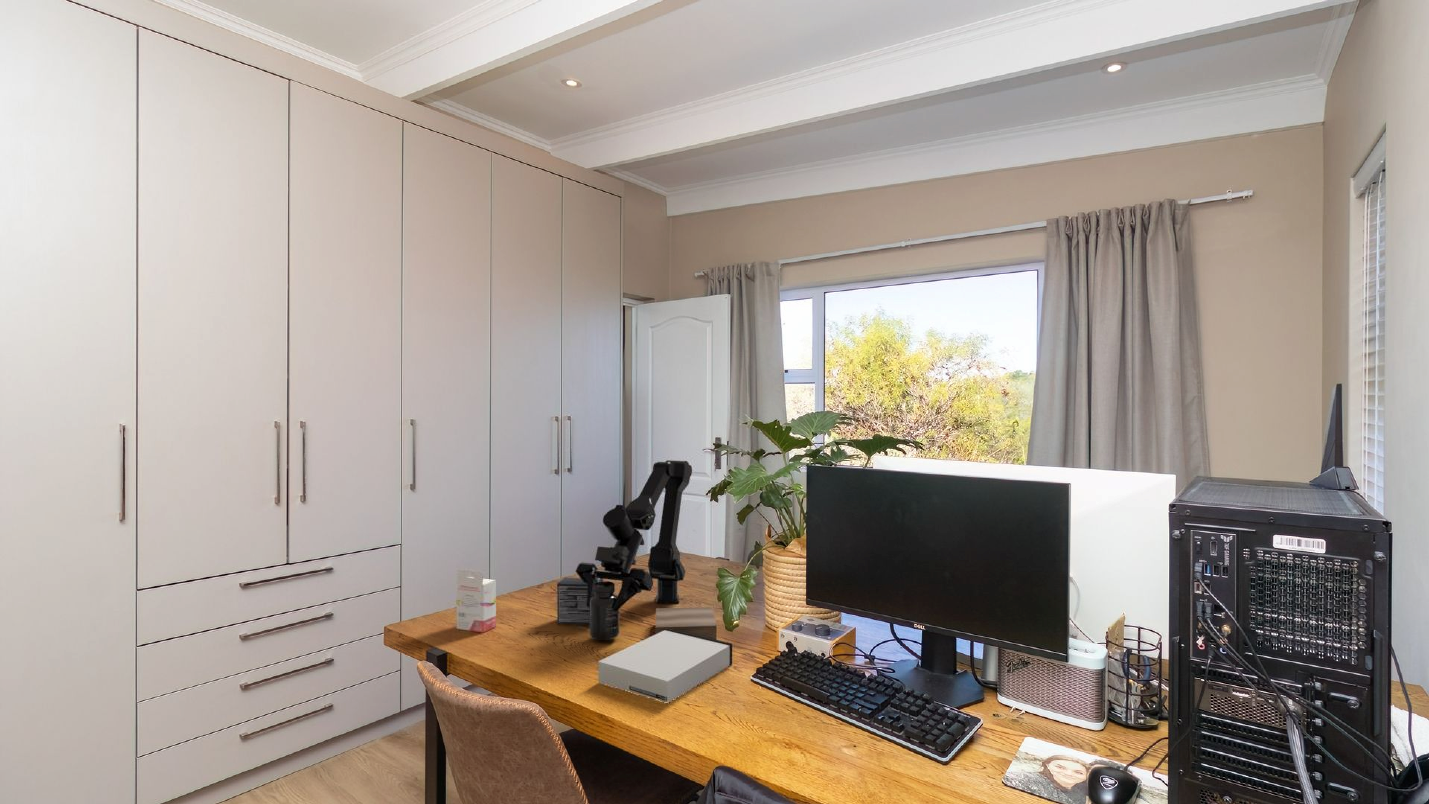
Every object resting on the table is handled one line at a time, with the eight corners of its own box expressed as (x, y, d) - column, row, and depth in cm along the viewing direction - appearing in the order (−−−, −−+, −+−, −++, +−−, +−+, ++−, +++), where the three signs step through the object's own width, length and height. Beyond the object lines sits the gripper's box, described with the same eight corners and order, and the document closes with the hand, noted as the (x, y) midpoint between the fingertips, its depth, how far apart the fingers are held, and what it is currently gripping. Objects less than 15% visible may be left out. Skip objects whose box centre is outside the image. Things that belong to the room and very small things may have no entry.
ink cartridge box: (497, 627, 167) (497, 567, 167) (483, 633, 162) (483, 572, 162) (469, 622, 170) (469, 564, 170) (455, 628, 166) (455, 568, 166)
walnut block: (656, 624, 169) (656, 608, 169) (712, 623, 170) (712, 607, 170) (655, 644, 155) (655, 627, 155) (716, 643, 156) (716, 625, 156)
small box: (604, 618, 174) (604, 577, 174) (597, 626, 168) (597, 584, 168) (564, 616, 175) (564, 576, 175) (556, 625, 169) (556, 583, 169)
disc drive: (732, 666, 143) (732, 643, 143) (668, 707, 125) (668, 679, 125) (666, 649, 153) (666, 627, 153) (597, 685, 134) (597, 659, 134)
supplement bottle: (620, 629, 162) (620, 579, 161) (617, 640, 155) (617, 588, 155) (591, 630, 161) (591, 580, 161) (587, 640, 155) (587, 588, 154)
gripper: (579, 529, 165) (552, 586, 155) (647, 535, 158) (623, 595, 148) (597, 554, 172) (572, 610, 162) (662, 561, 165) (641, 620, 155)
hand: (601, 608), depth 157 cm, fingers closed on supplement bottle, 7 cm apart
